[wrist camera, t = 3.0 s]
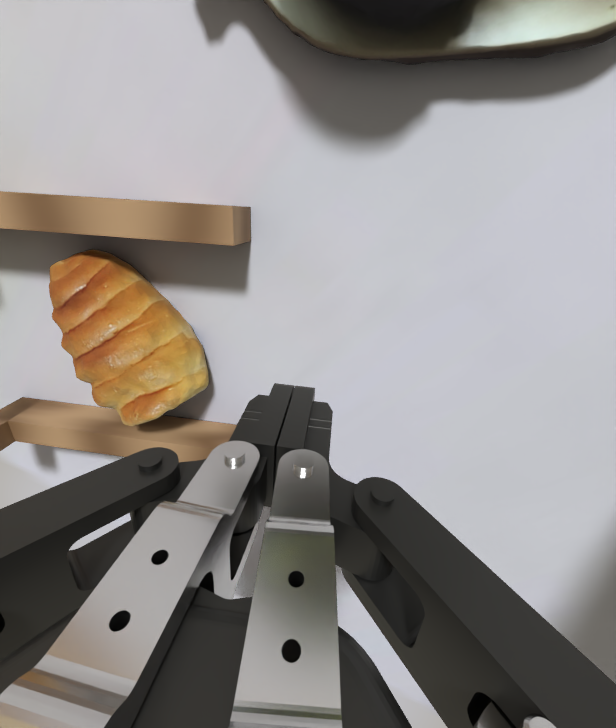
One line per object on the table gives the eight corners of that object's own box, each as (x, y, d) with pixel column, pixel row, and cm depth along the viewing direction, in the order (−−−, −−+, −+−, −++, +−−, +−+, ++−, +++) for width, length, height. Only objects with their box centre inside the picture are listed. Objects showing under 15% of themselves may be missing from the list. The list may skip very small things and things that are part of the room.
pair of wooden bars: (250, 206, 16) (213, 205, 12) (253, 446, 22) (230, 499, 18) (-52, 188, 17) (-173, 181, 13) (29, 415, 23) (-39, 458, 19)
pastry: (46, 282, 19) (-23, 297, 16) (132, 222, 17) (75, 224, 14) (147, 412, 22) (108, 449, 18) (230, 373, 20) (205, 407, 16)
